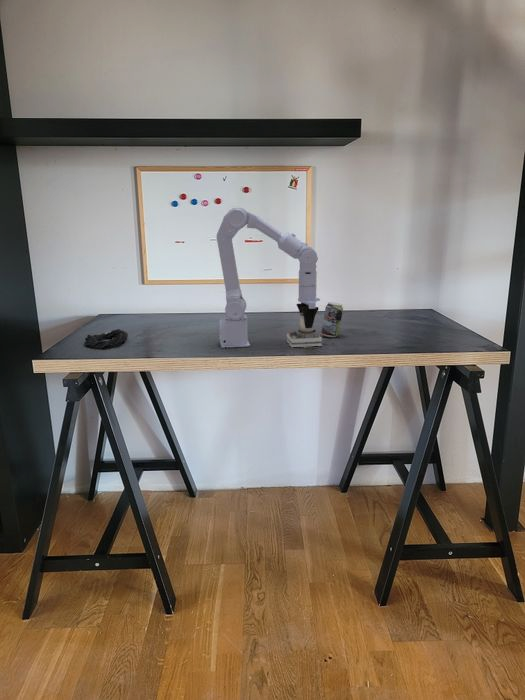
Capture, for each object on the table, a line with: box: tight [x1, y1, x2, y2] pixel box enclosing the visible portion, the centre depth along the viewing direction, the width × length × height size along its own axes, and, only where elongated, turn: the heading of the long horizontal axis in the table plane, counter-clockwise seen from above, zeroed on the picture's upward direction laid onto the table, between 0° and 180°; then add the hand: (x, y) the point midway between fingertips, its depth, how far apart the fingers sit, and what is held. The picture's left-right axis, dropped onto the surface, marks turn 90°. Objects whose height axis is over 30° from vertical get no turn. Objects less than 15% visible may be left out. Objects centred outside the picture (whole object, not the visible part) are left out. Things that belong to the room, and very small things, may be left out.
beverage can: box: [321, 301, 344, 338], centre depth 180 cm, size 6×7×12 cm
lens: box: [299, 312, 315, 333], centre depth 169 cm, size 5×5×6 cm
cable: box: [84, 328, 129, 350], centre depth 175 cm, size 17×14×4 cm
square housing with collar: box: [286, 328, 323, 348], centre depth 170 cm, size 10×8×4 cm
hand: (307, 326), depth 170 cm, fingers closed on lens, 4 cm apart
